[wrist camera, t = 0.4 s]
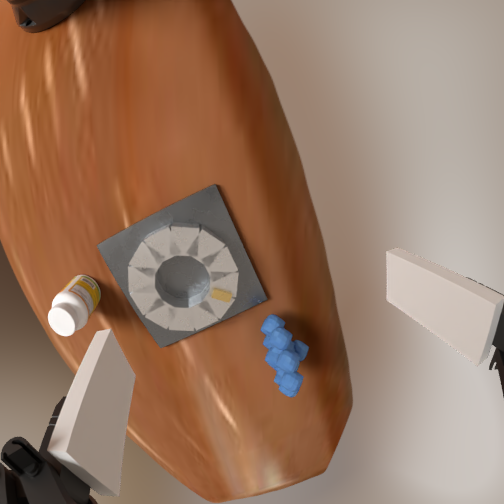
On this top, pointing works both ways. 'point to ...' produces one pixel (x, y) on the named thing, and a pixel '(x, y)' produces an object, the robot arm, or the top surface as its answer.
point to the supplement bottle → (74, 305)
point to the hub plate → (183, 267)
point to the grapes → (283, 355)
